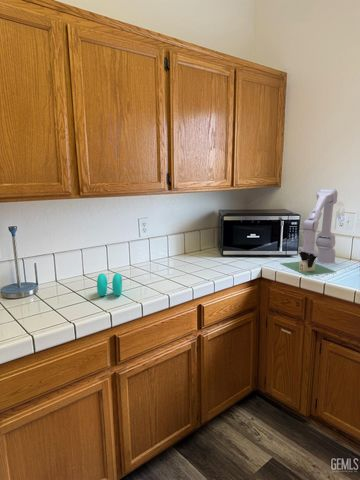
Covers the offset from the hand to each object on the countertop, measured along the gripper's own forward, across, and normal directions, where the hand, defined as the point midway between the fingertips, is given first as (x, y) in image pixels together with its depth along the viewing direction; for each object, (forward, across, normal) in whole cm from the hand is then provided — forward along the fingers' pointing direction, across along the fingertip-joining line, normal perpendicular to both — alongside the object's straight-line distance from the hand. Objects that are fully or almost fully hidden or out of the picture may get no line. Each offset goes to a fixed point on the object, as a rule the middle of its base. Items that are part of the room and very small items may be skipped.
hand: (307, 266), depth 185 cm
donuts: (+3, +4, -107) cm, 107 cm away
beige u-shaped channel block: (+2, 0, 0) cm, 2 cm away
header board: (+3, -4, +3) cm, 6 cm away
